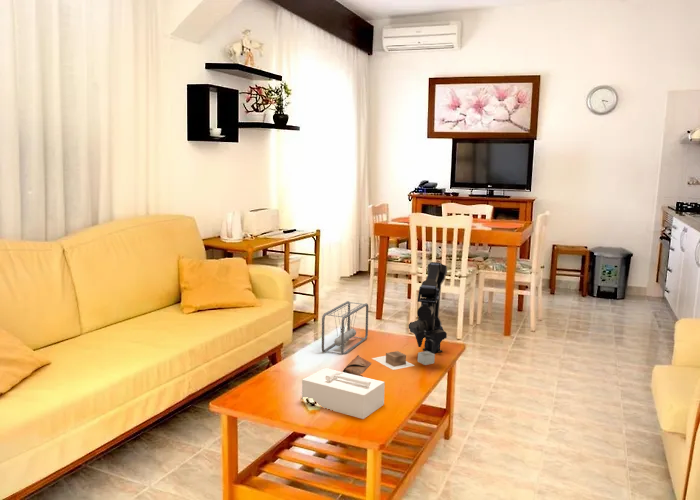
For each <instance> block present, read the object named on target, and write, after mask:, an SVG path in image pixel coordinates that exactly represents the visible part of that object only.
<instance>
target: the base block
mask: <svg viewBox="0 0 700 500" xmlns="http://www.w3.org/2000/svg"><path fill="white" fill-rule="evenodd" d="M385 356H386V363H388V364H390V365H392V366H394V367H395V366H400V365H405V364H406V361H407V354H405V353H403V352H401V351H398V350H395V351H390V352H385Z"/></svg>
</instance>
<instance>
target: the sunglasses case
mask: <svg viewBox="0 0 700 500" xmlns="http://www.w3.org/2000/svg"><path fill="white" fill-rule="evenodd" d="M371 365H372V362H371V361H369V360H367V359H364V358H363V357H362V356H360V355H357V356H355V358H353V359H352V360H351V361H350V362H349V363H348V364H347V365H346V366H345V368H343V370H342V372H345V373H349V374H353V375H357V376H362V377H364V375H362V374H364V373H365V372H366V370H367V369H368V368H369V367H370V366H371Z"/></svg>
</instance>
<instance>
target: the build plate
mask: <svg viewBox="0 0 700 500" xmlns="http://www.w3.org/2000/svg"><path fill="white" fill-rule="evenodd" d="M371 359H372V360H373V361H376V362H377V363H379V364H381V365H383V366H385V367H387V368H388V369H390V370H393V371H395V370H399V369H405V368H409V367H415V364H413V363H410V362H409V361H407V360H406V364H405V365H400V366H395V367H394V366H392V365H390V364H388V363H386V355H383V356H382V355H381V356H377V357H371Z"/></svg>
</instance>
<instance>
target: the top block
mask: <svg viewBox="0 0 700 500" xmlns="http://www.w3.org/2000/svg"><path fill="white" fill-rule="evenodd" d="M435 358H436V353H431V352H429V351H424V350H423V351H420V352H417V362H418V363H420V364H422V365H423V366H428V365H432V364H435Z"/></svg>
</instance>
